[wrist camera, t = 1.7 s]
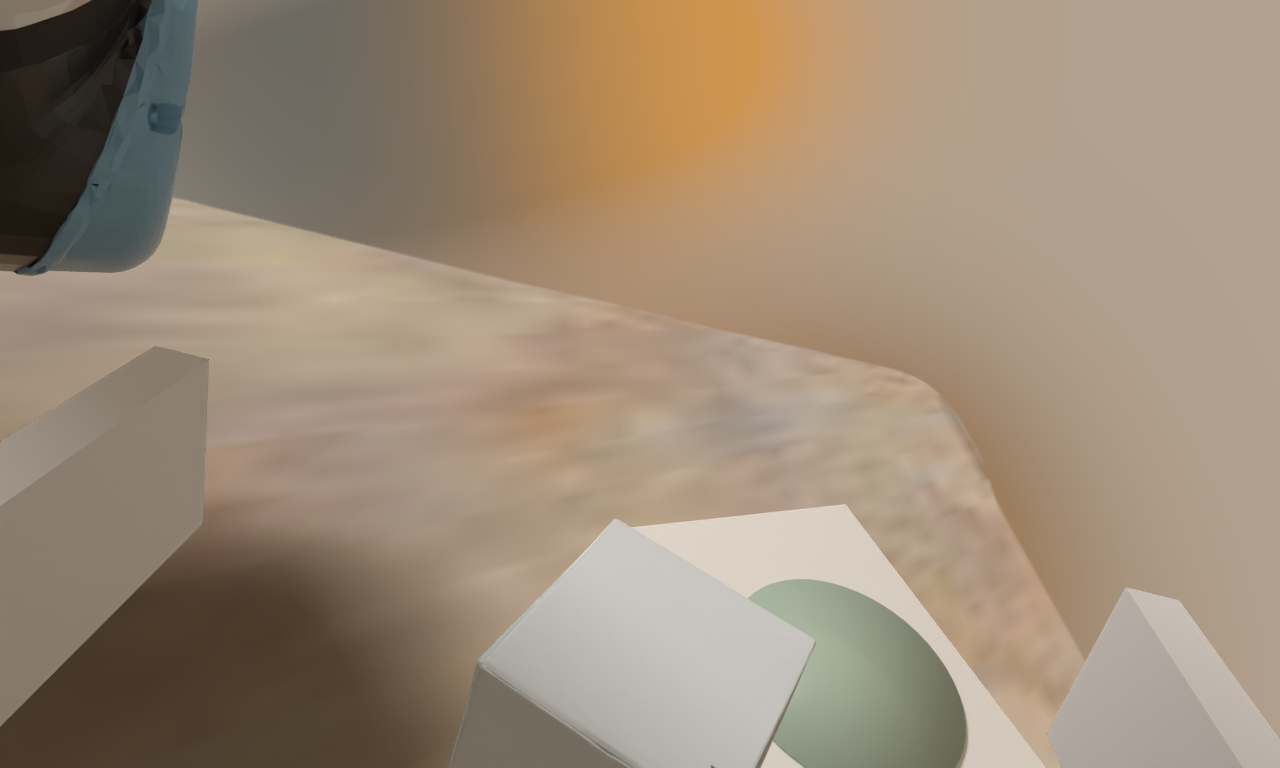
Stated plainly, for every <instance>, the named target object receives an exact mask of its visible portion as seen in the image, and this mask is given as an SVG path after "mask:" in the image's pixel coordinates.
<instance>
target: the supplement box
mask: <svg viewBox="0 0 1280 768" xmlns="http://www.w3.org/2000/svg"><path fill="white" fill-rule="evenodd" d="M815 645H816V641H815V639H814V638H812V637H811V636H809V635H807V634H806V633H804V632H802V631H801V630H799V629H797V628H796V627H794V626H792V625H791V624H789V623H787V622H785V621H784V620H782V619H780V618H779V617H777V616H775V615H774V614H772V613H770V612H769V611H767V610H765V609H764V608H762V607H760V606H759V605H757V604H755V603H754V602H752V601H750V600H749V599H747V598H746V597H744V596H742V595H741V594H739V593H737V592H736V591H734V590H732V589H731V588H729V587H728V586H726V585H724V584H723V583H721V582H719V581H718V580H716V579H714V578H713V577H711V576H709V575H708V574H706V573H705V572H703V571H701V570H700V569H698V568H696V567H695V566H693V565H691V564H690V563H688V562H686V561H685V560H683V559H682V558H680V557H678V556H677V555H675V554H673V553H672V552H670V551H668V550H667V549H665V548H664V547H662V546H660V545H659V544H657V543H655V542H654V541H652V540H650V539H649V538H647V537H646V536H644V535H642V534H641V533H639V532H638V531H636V530H634V529H633V528H631V527H629V526H628V525H626V524H625V523H623V522H621V521H620V520H618V519H614V520H613V521H612V522H611V523H610V524H609V525H608V526H607V528H606V529H605V530H604V531H603V532H602V533H601V534H600V535H599V536H598V537H597V538H596V539H595V540H594V542H593V543H592V544H591V545H590V546H589V547H588V548H587V549H586V550H585V551H584V552H583V553H582V554H581V556H580V557H579V558H578V559H577V560H576V561H575V562H574V563H573V564H572V565H571V566H570V567H569V568H568V569H567V570H566V571H565V572H564V573H563V574H562V575H561V576H560V577H559V578H558V579H557V580H556V581H555V582H554V583H553V584H552V585H551V586H550V587H549V588H548V589H547V590H546V591H545V592H544V593H543V594H542V595H541V596H540V597H539V598H538V599H537V600H536V601H535V602H534V603H533V604H532V605H531V606H530V607H529V608H528V609H527V610H526V611H525V612H524V613H523V614H522V615H521V616H520V617H519V618H518V619H517V620H516V621H515V622H514V623H513V624H512V625H511V626H510V627H509V628H508V629H507V630H506V631H505V632H504V633H503V634H502V635H501V636H500V637H499V638H498V639H497V640H496V641H495V642H494V643H493V644H492V645H491V646H490V647H489V648H488V649H487V650H486V651H485V652H484V653H483V654H482V655H481V656H480V657H479V658H478V660H477V663H476V668H475V672H474V677H473V681H472V686H471V690H470V694H469V698H468V701H467V705H466V708H465V712H464V716H463V719H462V723H461V727H460V730H459V733H458V736H457V739H456V743H455V746H454V750H453V753H452V757H451V760H450V763H449V767H448V768H761V766H762V764H763V762H764V759H765V757H766V755H767V753H768V750H769V748H770V746H771V744H772V741H773V739H774V737H775V735H776V732H777V730H778V728H779V726H780V724H781V721H782V719H783V717H784V715H785V712H786V710H787V708H788V706H789V703H790V701H791V699H792V696H793V694H794V692H795V690H796V687H797V685H798V683H799V680H800V678H801V676H802V674H803V671H804V669H805V667H806V665H807V662H808V660H809V658H810V656H811V654H812V651H813V649H814V647H815Z"/></svg>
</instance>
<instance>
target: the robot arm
mask: <svg viewBox="0 0 1280 768" xmlns="http://www.w3.org/2000/svg"><path fill="white" fill-rule="evenodd" d="M197 2H198V0H0V270H1V271H13V272H15V273H16V274H19V275H27V276H34V275H39V274H43V273H45V272H47V271H72V272H104V273H114V272H122V271H126V270H129V269H132V268H134V267H136V266H138V265H140V264H141V263H143V262H145V261H146V260H147V259H148V258H149V257H150V256H151V255H152V254H153V253H154V252H155V250H156V249H157V247H158V246H159V244H160V242H161V239H162V236H163V233H164V230H165V227H166V223H167V219H168V214H169V210H170V205H171V201H172V195H173V190H174V184H175V178H176V173H177V167H178V159H179V153H180V146H181V139H182V123H181V118H182V116H183V115H184V113H185V105H186V96H187V91H188V87H189V83H190V75H191V67H192V58H193V48H194V39H195V28H196V16H197ZM208 372H209V359H206V358H202V357H198V356H194V355H190V354H186V353H182V352H178V351H174V350H170V349H166V348H161V347H157V346H155V347H153V348H151V349H150V350H148V351H146V352H145V353H143V354H142V355H140V356H138V357H137V358H135V359H133V360H132V361H130V362H129V363H127V364H125V365H124V366H122V367H120V368H119V369H117V370H116V371H114V372H112V373H111V374H109V375H107V376H106V377H104V378H103V379H101V380H99V381H98V382H96V383H94V384H93V385H91V386H90V387H88V388H86V389H85V390H83V391H81V392H80V393H78V394H77V395H75V396H73V397H72V398H70V399H68V400H67V401H65V402H64V403H62V404H60V405H59V406H57V407H55V408H54V409H52V410H51V411H49V412H47V413H46V414H44V415H42V416H41V417H39V418H38V419H36V420H34V421H33V422H31V423H29V424H28V425H26V426H25V427H23V428H21V429H20V430H18V431H16V432H15V433H13V434H12V435H10V436H8V437H7V438H5V439H3V440H2V441H0V726H1V725H2V724H3V723H4V722H5V721H6V720H7V719H8V718H9V717H10V716H11V715H12V714H13V713H14V712H15V711H16V710H17V709H18V708H19V707H20V706H21V705H22V704H23V703H24V702H25V701H26V700H27V699H28V698H29V697H30V696H31V695H32V694H33V693H34V692H35V691H36V690H37V689H38V688H39V687H40V686H41V685H42V684H43V683H44V682H45V681H46V680H47V679H48V678H49V677H50V676H51V675H52V674H53V673H54V672H55V671H56V670H57V669H58V668H59V667H60V666H61V665H62V664H63V663H64V662H65V661H66V660H67V659H68V658H69V657H70V656H71V655H72V654H73V653H74V652H75V651H76V650H77V649H78V648H79V647H80V646H81V645H82V644H83V643H84V642H85V641H86V640H87V639H88V638H89V637H90V636H91V635H92V634H93V633H94V632H95V631H96V630H97V629H98V628H99V627H100V626H101V625H102V624H103V623H104V622H105V621H106V620H107V619H108V618H109V617H110V616H111V615H112V614H113V613H114V612H115V611H116V610H117V609H118V608H119V607H120V606H121V605H122V604H123V603H124V602H125V601H126V600H127V599H128V598H129V597H130V596H131V595H132V594H133V593H134V592H135V591H136V590H137V589H138V588H139V587H140V586H141V585H142V584H143V583H144V582H145V581H146V580H147V579H148V578H149V577H150V576H151V575H152V574H153V573H154V572H155V571H156V570H157V569H158V568H159V567H160V566H161V565H162V564H163V563H164V562H165V561H166V560H167V559H168V558H169V557H170V556H171V555H172V554H173V553H174V552H175V551H176V550H177V549H178V548H179V547H180V546H181V545H182V544H183V543H184V542H185V541H186V540H187V539H188V538H189V537H190V536H191V535H192V534H193V533H194V532H195V531H196V530H197V529H198V528H199V527H200V526H201V525H202V524H203V505H204V479H205V452H206V425H207V398H208ZM1047 735H1048V738H1049V740H1050V742H1051V745H1052V747H1053V750H1054V752H1055V754H1056V757H1057V759H1058V762H1059V764H1060V766H1061V768H1280V740H1279V738H1278V737H1277V735H1276V734H1275V733H1274V731H1273V730H1272V728H1271V727H1270V726H1269V724H1268V723H1267V722H1266V720H1265V719H1264V718H1263V716H1262V715H1261V713H1260V712H1259V710H1258V709H1257V708H1256V706H1255V705H1254V703H1253V702H1252V701H1251V700H1250V698H1249V697H1248V695H1247V694H1246V693H1245V691H1244V690H1243V688H1242V687H1241V685H1240V684H1239V683H1238V682H1237V680H1236V679H1235V677H1234V676H1233V675H1232V673H1231V672H1230V670H1229V669H1228V668H1227V666H1226V665H1225V663H1224V662H1223V661H1222V659H1221V658H1220V656H1219V655H1218V654H1217V652H1216V651H1215V650H1214V648H1213V647H1212V645H1211V644H1210V643H1209V641H1208V640H1207V638H1206V637H1205V636H1204V634H1203V633H1202V631H1201V630H1200V629H1199V627H1198V626H1197V625H1196V623H1195V622H1194V620H1193V619H1192V618H1191V616H1190V615H1189V613H1188V612H1187V611H1186V609H1185V608H1184V607H1183V605H1182V604H1181V602H1180V601H1179V600H1175V599H1171V598H1167V597H1163V596H1159V595H1155V594H1151V593H1147V592H1143V591H1139V590H1135V589H1131V588H1127V587H1126V588H1125V589H1124V591H1123V593H1122V595H1121V597H1120V599H1119V601H1118V602H1117V604H1116V606H1115V608H1114V610H1113V612H1112V613H1111V615H1110V617H1109V619H1108V621H1107V623H1106V625H1105V626H1104V628H1103V630H1102V632H1101V634H1100V636H1099V638H1098V639H1097V641H1096V643H1095V645H1094V647H1093V649H1092V650H1091V652H1090V654H1089V656H1088V658H1087V660H1086V661H1085V663H1084V665H1083V667H1082V669H1081V671H1080V672H1079V674H1078V676H1077V678H1076V680H1075V682H1074V684H1073V685H1072V687H1071V689H1070V691H1069V693H1068V695H1067V696H1066V698H1065V700H1064V702H1063V704H1062V706H1061V708H1060V709H1059V711H1058V713H1057V715H1056V717H1055V719H1054V720H1053V722H1052V724H1051V726H1050V728H1049V730H1048V732H1047Z"/></svg>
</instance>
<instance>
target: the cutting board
mask: <svg viewBox="0 0 1280 768" xmlns="http://www.w3.org/2000/svg"><path fill="white" fill-rule="evenodd" d="M632 528H633V529H634V530H636V531H638V532H639V533H641V534H642V535H644V536H646V537H647V538H649V539H650V540H652V541H654V542H655V543H657V544H659V545H660V546H662V547H664V548H665V549H667V550H668V551H670V552H672V553H673V554H675V555H677V556H678V557H680V558H682V559H683V560H685V561H686V562H688V563H690V564H691V565H693V566H695V567H696V568H698V569H700V570H701V571H703V572H705V573H706V574H708V575H709V576H711V577H713V578H714V579H716V580H718V581H719V582H721V583H723V584H724V585H726V586H728V587H729V588H731V589H732V590H734V591H736V592H737V593H739V594H741V595H742V596H744V597H746V598H747V599H749V600H750V601H752V602H754V603H755V604H757V605H759V606H760V607H762V608H764V609H765V610H767V611H769V612H770V613H772V614H774V615H775V616H777V617H779V618H780V619H782V620H784V621H785V622H787V623H789V624H791V625H792V626H794V627H796V628H797V629H799V630H801V631H802V632H804V633H806V634H807V635H809V636H811V637H812V638H814V639H815V641H816V645H815V647H814V649H813V651H812V654H811V656H810V658H809V660H808V662H807V665H806V667H805V669H804V671H803V674H802V676H801V678H800V680H799V683H798V685H797V687H796V690H795V692H794V694H793V696H792V699H791V701H790V703H789V706H788V708H787V710H786V712H785V715H784V717H783V719H782V721H781V724H780V726H779V728H778V730H777V732H776V735H775V737H774V739H773V741H772V744H771V746H770V748H769V750H768V753H767V755H766V757H765V759H764V762H763V764H762V766H761V768H1046V767H1045V766H1044V765H1043V763H1042V762H1041V761H1040V759H1039V758H1038V757H1037V755H1036V754H1035V753H1034V752H1033V750H1032V749H1031V748H1030V746H1029V745H1028V744H1027V742H1026V741H1025V740H1024V738H1023V737H1022V736H1021V734H1020V733H1019V732H1018V731H1017V729H1016V728H1015V727H1014V725H1013V724H1012V723H1011V721H1010V720H1009V719H1008V717H1007V716H1006V715H1005V713H1004V712H1003V711H1002V709H1001V708H1000V707H999V706H998V704H997V703H996V702H995V700H994V699H993V698H992V696H991V695H990V694H989V692H988V691H987V690H986V688H985V687H984V686H983V685H982V683H981V682H980V681H979V679H978V678H977V677H976V675H975V674H974V673H973V671H972V670H971V669H970V667H969V666H968V665H967V664H966V662H965V661H964V660H963V658H962V657H961V656H960V654H959V653H958V652H957V650H956V649H955V648H954V646H953V645H952V644H951V642H950V641H949V640H948V639H947V637H946V636H945V635H944V633H943V632H942V631H941V629H940V628H939V627H938V625H937V624H936V623H935V621H934V620H933V619H932V618H931V616H930V615H929V614H928V612H927V611H926V610H925V608H924V607H923V606H922V604H921V603H920V602H919V600H918V599H917V598H916V596H915V595H914V594H913V593H912V591H911V590H910V589H909V587H908V586H907V585H906V583H905V582H904V581H903V579H902V578H901V577H900V575H899V574H898V573H897V572H896V570H895V569H894V568H893V566H892V565H891V564H890V562H889V561H888V560H887V558H886V557H885V556H884V554H883V553H882V552H881V551H880V549H879V548H878V547H877V545H876V544H875V543H874V541H873V540H872V539H871V537H870V536H869V535H868V533H867V532H866V531H865V529H864V528H863V527H862V526H861V524H860V523H859V522H858V520H857V519H856V518H855V516H854V515H853V514H852V512H851V511H850V510H849V508H848V507H847V506H846V505H845V504H844V505H835V506H825V507H816V508H807V509H798V510H788V511H779V512H770V513H761V514H752V515H742V516H733V517H724V518H715V519H705V520H696V521H687V522H678V523H669V524H659V525H650V526H641V527H632Z"/></svg>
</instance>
